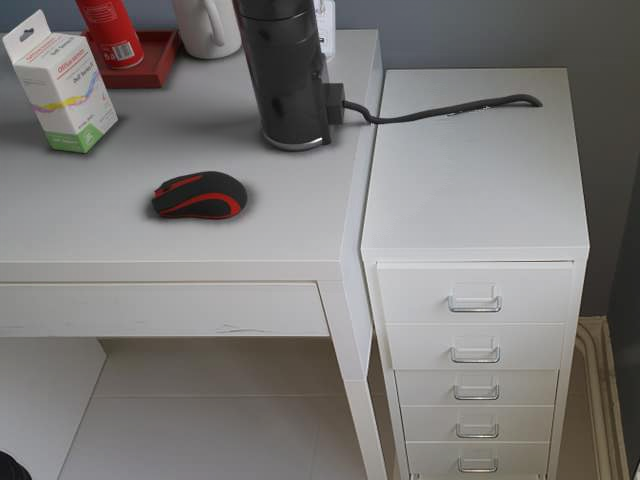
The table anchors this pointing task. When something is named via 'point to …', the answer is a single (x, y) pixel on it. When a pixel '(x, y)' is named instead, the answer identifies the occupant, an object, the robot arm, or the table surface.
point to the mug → (208, 27)
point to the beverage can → (112, 32)
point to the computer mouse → (200, 196)
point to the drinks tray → (150, 70)
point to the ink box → (61, 84)
